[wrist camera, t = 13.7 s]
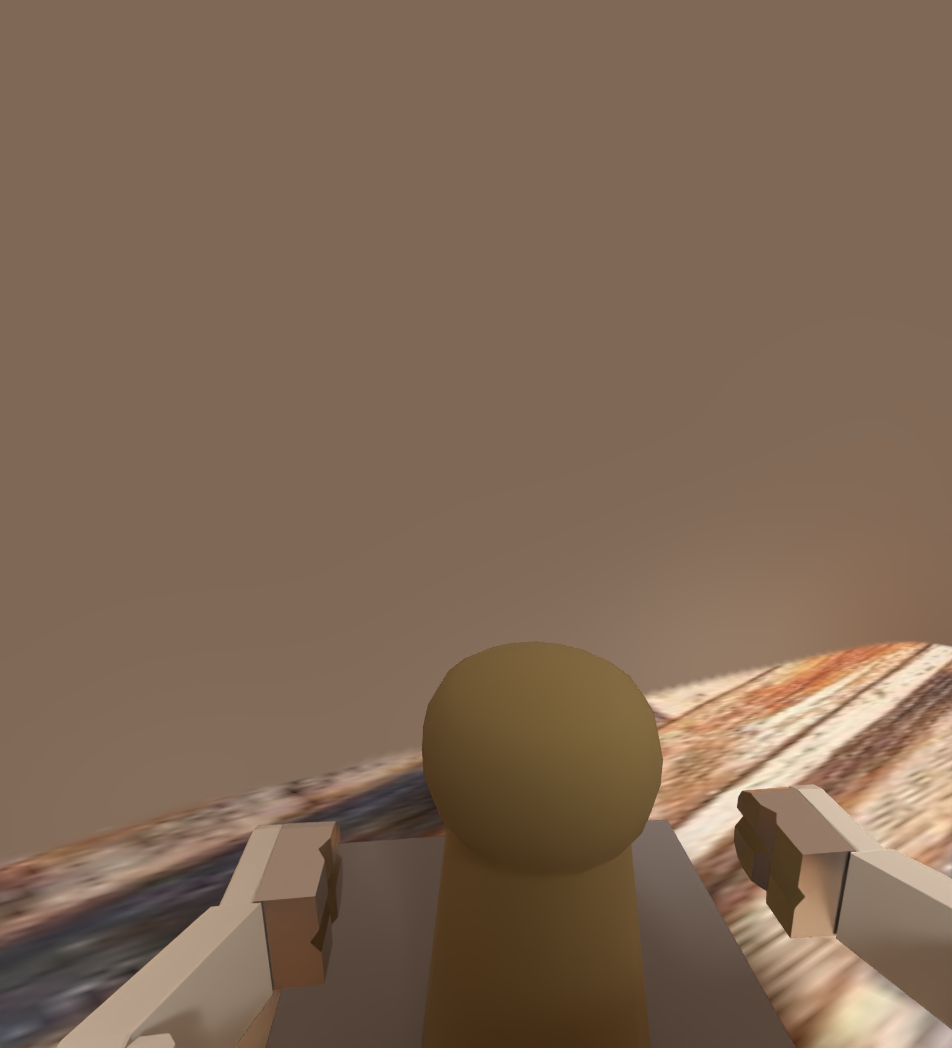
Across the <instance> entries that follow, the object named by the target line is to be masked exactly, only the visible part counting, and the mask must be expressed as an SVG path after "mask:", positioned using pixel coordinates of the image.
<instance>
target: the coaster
mask: <svg viewBox="0 0 952 1048" xmlns="http://www.w3.org/2000/svg"><path fill="white" fill-rule="evenodd" d="M445 838H446V836H434V837H420V838H406V839H393V840H379V841H365V842H352V843H339V846H338V850H337V853H338V854H339V855H340V856H341V857H342V864H343V886H342V896H341V904H340V909H339V915H338V918H337V919H336V920H335V921H334V922H333V924H332V925H331V926H332V938H333V945H332V950H331V955H330V960H329V964H328V969H327V974H326V979H325V984H319V985H311V986H304V987H296V988H289V989H282V991H281V995H280V998H279V1002H278V1005H277V1009H276V1013H275V1016H274V1020H273V1024H272V1027H271V1031H270V1035H269V1038H268V1042H267V1045H266V1048H421V1046H422V1032H423V1024H424V1015H425V1007H426V998H427V990H428V981H429V973H430V965H431V956H432V948H433V939H434V931H435V922H436V914H437V905H438V897H439V888H440V880H441V871H442V863H443V854H444V846H445ZM631 846H632V857H633V867H634V878H635V888H636V899H637V909H638V920H639V930H640V940H641V951H642V961H643V972H644V982H645V993H646V1003H647V1014H648V1024H649V1035H650V1045H651V1048H796V1047H795V1045H794V1043H793V1041H792V1039H791V1038H790V1036H789V1034H788V1032H787V1031H786V1029H785V1027H784V1025H783V1024H782V1022H781V1020H780V1018H779V1016H778V1015H777V1013H776V1011H775V1009H774V1008H773V1006H772V1004H771V1002H770V1001H769V999H768V997H767V995H766V994H765V992H764V990H763V988H762V986H761V985H760V983H759V981H758V979H757V978H756V976H755V974H754V972H753V971H752V969H751V967H750V965H749V963H748V962H747V960H746V958H745V956H744V955H743V953H742V951H741V949H740V948H739V946H738V944H737V942H736V941H735V939H734V937H733V935H732V933H731V932H730V930H729V928H728V926H727V925H726V923H725V921H724V919H723V918H722V916H721V914H720V912H719V910H718V909H717V907H716V905H715V903H714V902H713V900H712V898H711V896H710V895H709V893H708V891H707V889H706V887H705V886H704V884H703V882H702V880H701V879H700V877H699V875H698V873H697V872H696V870H695V868H694V866H693V865H692V863H691V861H690V859H689V857H688V856H687V854H686V852H685V850H684V849H683V847H682V845H681V843H680V842H679V840H678V838H677V836H676V834H675V833H674V831H673V829H672V827H671V826H670V824H669V822H668V820H653V821H647V823H646V825H645V827H644V830H643V832H642V834H641V835H640V836H639V837H638V838H637V839H636V840H635V841H634V842H633V843H632V844H631Z"/></svg>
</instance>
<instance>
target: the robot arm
mask: <svg viewBox="0 0 952 1048" xmlns="http://www.w3.org/2000/svg"><path fill="white" fill-rule="evenodd" d="M737 808H738V810H739V811H740V812H741V814H742V815H743V817H742V818H741V819H740V821H739V822H738V823H737V824H736V826H735V833H734V843H735V847H736V852H737V856H738V858H739V860H740V863H741V865H742V867H743V869H744V871H745V872H746V874H747V875H748V877H749V878H750V880H751V881H752V882H754V883H755V884H757V885H758V886H760V887H761V888H763V889H764V890H766V903H767V905H768V906H769V908H770V909H771V911H772V912H773V914H774V915H775V916H776V918H777V919H778V921H779V922H780V924H781V925H782V927H783V928H784V930H785V931H786V933H787V934H788V935H789V937H790V938H805V937H821V936H836V939H837V940H839V941H840V942H841V943H843V944H844V945H845V946H846V947H848V948H849V949H850V950H851V951H853V952H854V953H855V954H857V955H858V956H859V957H860V958H862V959H863V960H864V961H865V962H867V963H868V964H869V965H870V966H872V967H873V968H874V969H876V970H877V971H878V972H879V973H881V974H882V975H883V976H884V977H886V978H887V979H888V980H890V981H891V982H892V983H893V984H895V985H896V986H897V987H898V988H900V989H901V990H902V991H904V992H905V993H906V994H907V995H909V996H910V997H911V998H912V999H914V1000H915V1001H916V1002H917V1003H919V1004H920V1005H921V1006H923V1007H924V1008H925V1009H926V1010H928V1011H929V1012H930V1013H931V1014H933V1015H934V1016H935V1017H937V1018H938V1019H939V1020H940V1021H942V1022H943V1023H944V1024H945V1025H947V1026H948V1027H949V1028H951V1029H952V879H951V878H949V877H947V876H945V875H943V874H941V873H939V872H938V871H936V870H934V869H932V868H930V867H928V866H926V865H924V864H922V863H920V862H918V861H916V860H914V859H912V858H910V857H908V856H906V855H904V854H902V853H900V852H898V851H896V850H894V849H884V848H883V847H882V846H881V845H880V844H879V843H878V842H877V841H876V840H875V839H874V838H873V837H872V836H870V835H869V834H868V833H867V832H866V831H865V830H864V829H863V828H862V827H861V826H860V825H859V824H858V823H857V822H856V821H855V820H854V819H853V818H852V817H851V816H850V815H849V814H848V813H847V812H845V811H844V810H843V809H842V808H841V807H840V806H839V805H838V804H837V803H836V802H835V801H834V800H833V799H832V798H831V797H830V796H829V795H828V794H827V793H826V792H825V791H824V790H823V789H821V788H820V787H818V786H816V785H814V784H811V785H800V786H790V787H781V788H769V789H757V790H745V791H742V792H741V794H740V795H739V797H738V804H737ZM339 841H340V832H339V824H338V823H337V822H336V821H330V822H309V823H288V824H284V825H258V827H257V828H256V829H255V830H254V831H253V832H252V834H251V836H250V838H249V841H248V843H247V845H246V847H245V849H244V852H243V854H242V856H241V858H240V861H239V863H238V865H237V867H236V869H235V872H234V874H233V876H232V878H231V881H230V883H229V885H228V887H227V889H226V892H225V894H224V896H223V898H222V901H221V903H220V905H219V906H215V907H210V908H209V909H208V910H207V911H205V912H204V913H203V914H202V915H201V916H200V917H199V918H198V919H196V920H195V921H194V922H193V923H192V924H191V925H190V926H189V927H187V928H186V929H185V930H184V931H183V932H182V933H181V934H180V935H179V936H177V937H176V938H175V939H174V940H173V941H172V942H171V943H170V944H168V945H167V946H166V947H165V948H164V949H163V950H162V951H161V952H160V953H158V954H157V955H156V956H155V957H154V958H153V959H152V960H151V961H149V962H148V963H147V964H146V965H145V966H144V967H143V968H142V969H141V970H139V971H138V972H137V973H136V974H135V975H134V976H133V977H132V978H130V979H129V980H128V981H127V982H126V983H125V984H124V985H123V986H122V987H120V988H119V989H118V990H117V991H116V992H115V993H114V994H113V995H111V996H110V997H109V998H108V999H107V1000H106V1001H105V1002H104V1003H103V1004H101V1005H100V1006H99V1007H98V1008H97V1009H96V1010H95V1011H94V1012H92V1013H91V1014H90V1015H89V1016H88V1017H87V1018H86V1019H85V1020H84V1021H82V1022H81V1023H80V1024H79V1025H78V1026H77V1027H76V1028H75V1029H73V1030H72V1031H71V1032H70V1033H69V1034H68V1035H67V1036H66V1037H65V1038H63V1039H62V1040H61V1041H60V1043H59V1045H58V1046H57V1048H235V1047H236V1045H237V1044H238V1042H239V1041H240V1040H241V1038H242V1037H243V1035H244V1034H245V1033H246V1031H247V1030H248V1028H249V1027H250V1026H251V1024H252V1023H253V1022H254V1020H255V1019H256V1017H257V1016H258V1015H259V1013H260V1012H261V1010H262V1009H263V1008H264V1006H265V1005H266V1004H267V1002H268V1001H269V999H270V998H271V997H272V995H273V990H281V989H289V988H296V987H304V986H311V985H319V984H325V979H326V974H327V969H328V964H329V960H330V955H331V950H332V945H333V938H332V926H331V925H332V924H333V922H334V921H335V920H336V919H337V918H338V915H339V909H340V904H341V896H342V886H343V864H342V857H341V856H340V855H339V854H338V853H337V850H338V846H339Z"/></svg>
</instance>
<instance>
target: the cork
mask: <svg viewBox="0 0 952 1048" xmlns="http://www.w3.org/2000/svg"><path fill="white" fill-rule="evenodd" d="M422 756H423V772H424V776H425V779H426V782H427V785H428V788H429V790H430V793H431V796H432V799H433V801H434V803H435V806H436V808H437V810H438V813H439V815H440V817H441V820H442V822H443V823H444V824H445V825H446V826H447V829H446V838H445V846H444V854H443V863H442V871H441V880H440V888H439V897H438V905H437V914H436V922H435V931H434V939H433V948H432V956H431V965H430V973H429V981H428V990H427V998H426V1007H425V1015H424V1024H423V1032H422V1046H421V1048H651V1045H650V1035H649V1024H648V1014H647V1003H646V993H645V982H644V972H643V961H642V951H641V940H640V930H639V920H638V909H637V899H636V888H635V878H634V867H633V857H632V846H631V844H632V843H633V842H634V841H635V840H636V839H637V838H638V837H639V836H640V835H641V834H642V832H643V830H644V827H645V825H646V823H647V820H648V818H649V815H650V813H651V811H652V808H653V805H654V802H655V799H656V796H657V793H658V790H659V788H660V785H661V774H662V764H663V758H662V752H661V746H660V741H659V735H658V730H657V726H656V721H655V716H654V712H653V710H652V709H651V707H650V705H649V704H648V702H647V700H646V699H645V697H644V695H643V694H642V692H641V691H640V689H639V688H638V687H637V685H636V684H635V682H634V681H633V680H632V678H631V677H630V676H629V675H628V674H626V673H625V672H624V671H622V670H621V669H619V668H618V667H617V666H615V665H614V664H612V663H611V662H609V661H607V660H605V659H603V658H601V657H598V656H596V655H594V654H591V653H589V652H587V651H584V650H582V649H578V648H574V647H570V646H566V645H561V644H554V643H543V642H522V643H511V644H506V645H501V646H496V647H492V648H489V649H487V650H484V651H482V652H480V653H477V654H475V655H472V656H470V657H467V658H465V659H464V660H462V661H461V662H460V663H458V664H457V665H456V666H454V667H453V668H452V669H450V670H449V672H448V673H447V674H446V676H445V678H444V679H443V681H442V682H441V684H440V686H439V687H438V689H437V690H436V692H435V694H434V696H433V697H432V699H431V701H430V702H429V704H428V707H427V712H426V716H425V721H424V725H423V742H422Z"/></svg>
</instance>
